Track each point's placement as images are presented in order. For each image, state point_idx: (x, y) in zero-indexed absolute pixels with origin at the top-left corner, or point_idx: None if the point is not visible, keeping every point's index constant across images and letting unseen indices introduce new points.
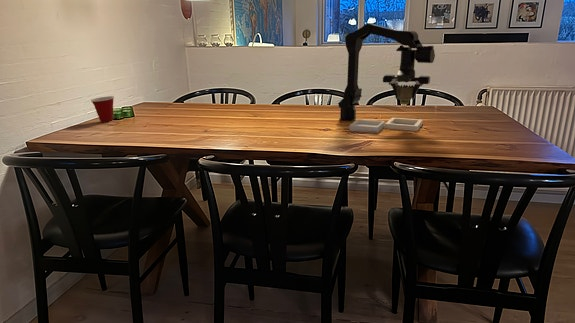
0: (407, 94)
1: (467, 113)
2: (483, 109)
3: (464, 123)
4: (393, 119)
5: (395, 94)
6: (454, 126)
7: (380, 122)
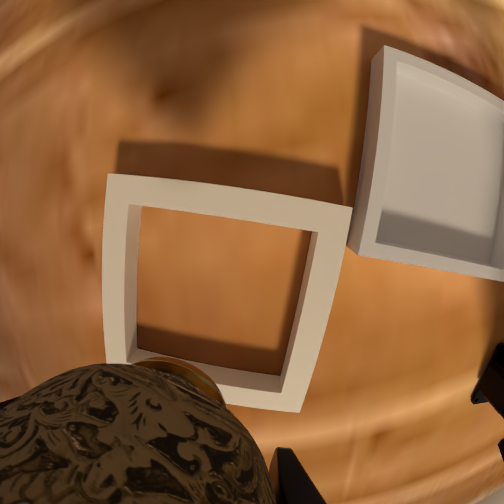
0: (35, 396)
1: None
2: None
3: (2, 370)
4: (290, 365)
5: (309, 499)
6: (6, 321)
7: (386, 244)
